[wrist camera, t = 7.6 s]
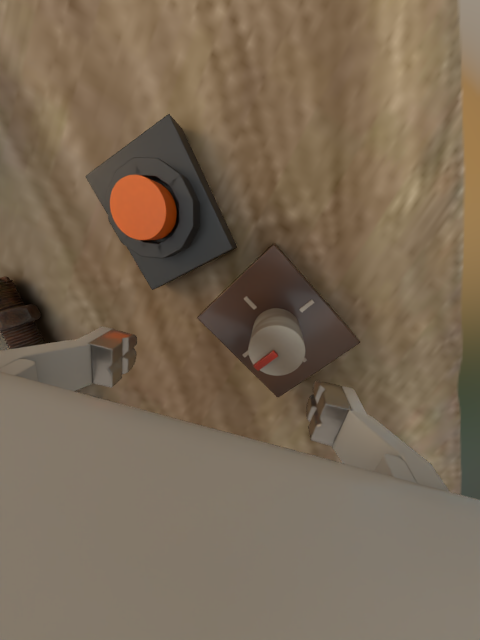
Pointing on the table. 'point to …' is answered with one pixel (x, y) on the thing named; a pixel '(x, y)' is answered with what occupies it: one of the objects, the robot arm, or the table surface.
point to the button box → (188, 193)
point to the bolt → (17, 318)
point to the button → (142, 208)
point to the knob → (276, 342)
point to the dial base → (285, 293)
